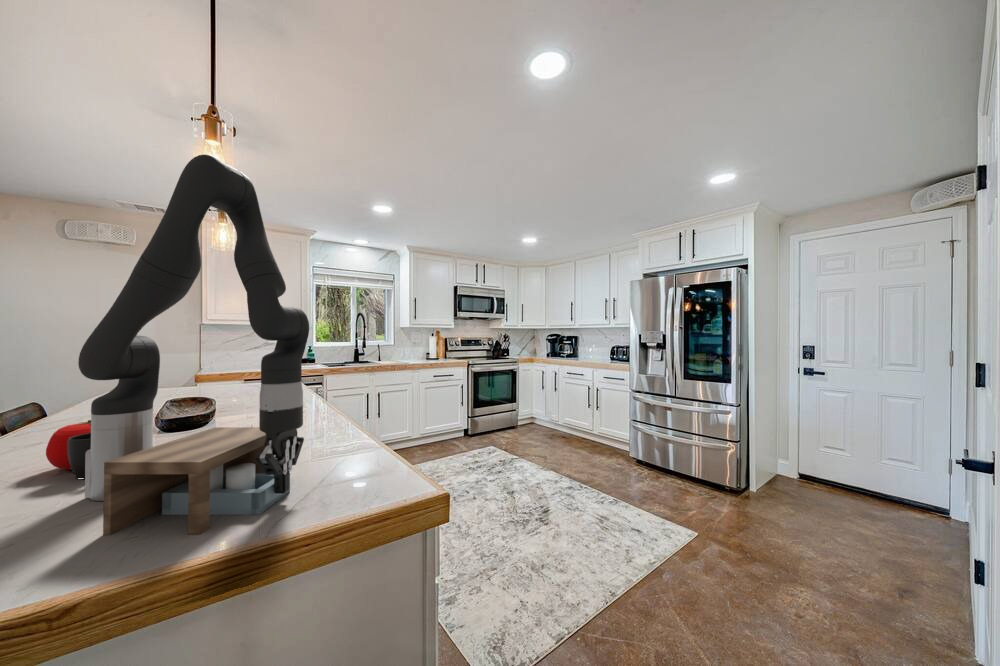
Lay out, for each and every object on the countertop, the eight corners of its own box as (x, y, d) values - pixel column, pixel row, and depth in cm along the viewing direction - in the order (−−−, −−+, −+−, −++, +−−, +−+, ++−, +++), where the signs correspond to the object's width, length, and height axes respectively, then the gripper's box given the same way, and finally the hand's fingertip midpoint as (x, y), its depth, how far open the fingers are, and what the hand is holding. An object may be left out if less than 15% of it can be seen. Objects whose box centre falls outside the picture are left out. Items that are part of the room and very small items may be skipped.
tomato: (27, 477, 86) (28, 427, 86) (83, 458, 100) (84, 415, 100) (90, 474, 88) (91, 425, 88) (137, 456, 101) (138, 414, 102)
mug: (82, 487, 81) (82, 443, 81) (60, 478, 86) (61, 437, 86) (132, 474, 88) (132, 434, 88) (109, 467, 93) (110, 429, 93)
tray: (162, 514, 68) (162, 476, 68) (204, 492, 78) (205, 459, 78) (259, 514, 68) (260, 476, 68) (290, 491, 78) (290, 458, 78)
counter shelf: (103, 534, 61) (104, 462, 61) (213, 479, 85) (214, 427, 85) (200, 534, 61) (200, 462, 61) (283, 479, 85) (283, 427, 85)
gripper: (282, 399, 80) (282, 479, 80) (239, 411, 67) (239, 507, 67) (316, 399, 80) (316, 479, 80) (281, 411, 67) (281, 506, 67)
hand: (281, 491), depth 73 cm, fingers closed
